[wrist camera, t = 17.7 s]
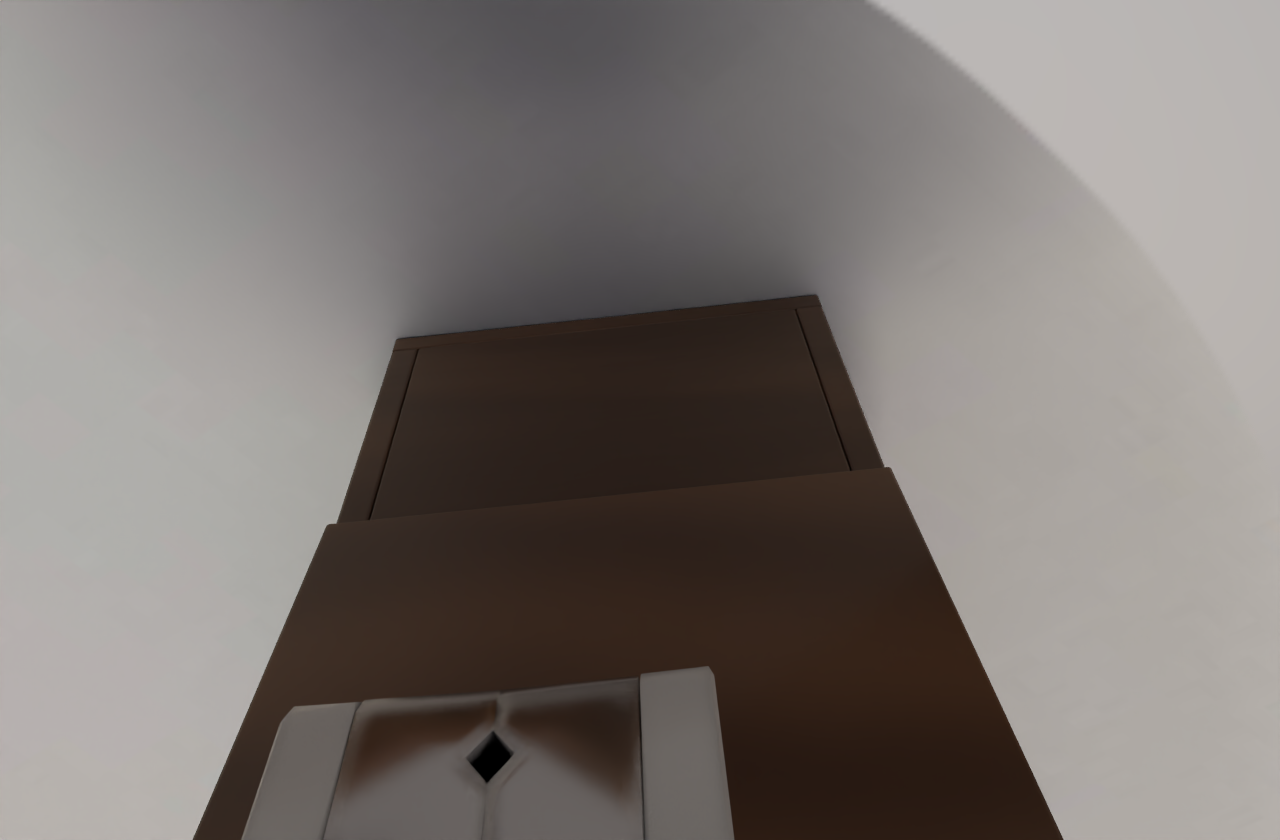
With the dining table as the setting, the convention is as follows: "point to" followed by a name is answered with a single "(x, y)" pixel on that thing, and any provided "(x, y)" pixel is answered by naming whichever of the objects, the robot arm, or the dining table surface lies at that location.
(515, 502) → the chest
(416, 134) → the dining table surface
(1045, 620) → the dining table surface
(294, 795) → the robot arm
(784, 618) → the chest lid
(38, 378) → the dining table surface
